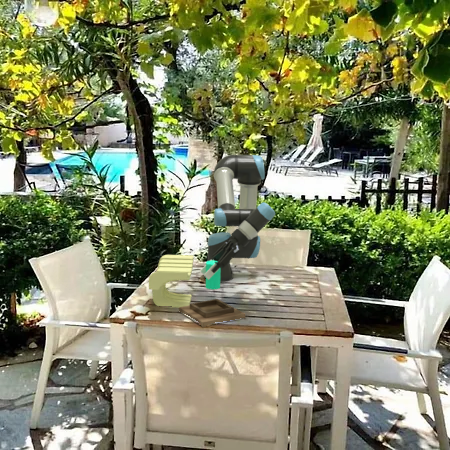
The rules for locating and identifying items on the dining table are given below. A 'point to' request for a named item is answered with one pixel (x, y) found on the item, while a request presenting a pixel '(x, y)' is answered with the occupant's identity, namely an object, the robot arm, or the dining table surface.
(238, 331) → the dining table surface
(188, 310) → the brown square tray
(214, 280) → the candle
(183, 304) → the slatted curved stool
